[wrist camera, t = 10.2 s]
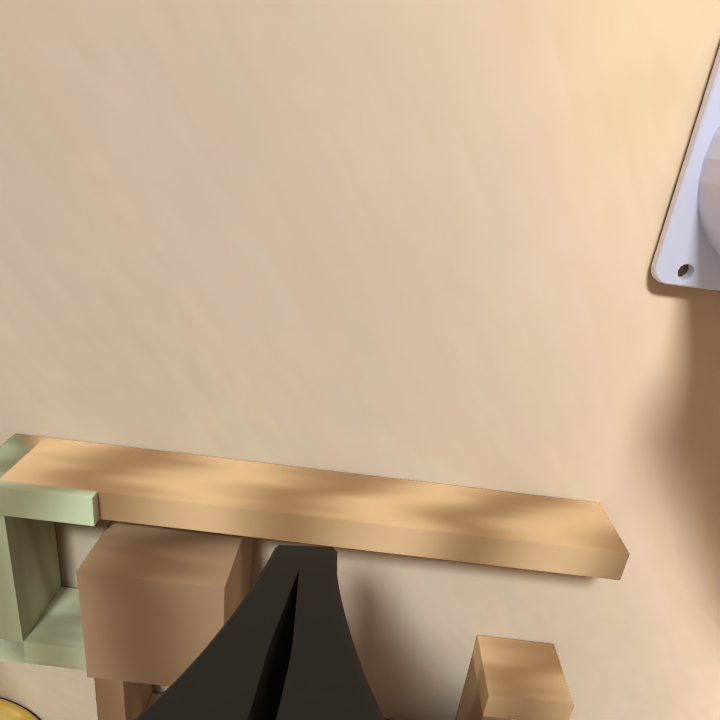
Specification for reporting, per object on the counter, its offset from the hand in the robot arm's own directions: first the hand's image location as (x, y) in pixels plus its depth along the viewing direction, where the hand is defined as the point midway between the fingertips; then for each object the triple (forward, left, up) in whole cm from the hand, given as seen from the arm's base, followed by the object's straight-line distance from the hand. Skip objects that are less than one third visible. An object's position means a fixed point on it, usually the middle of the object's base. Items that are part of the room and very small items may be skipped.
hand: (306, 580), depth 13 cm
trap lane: (+1, +11, -9) cm, 14 cm away
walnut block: (+5, +8, -10) cm, 13 cm away
